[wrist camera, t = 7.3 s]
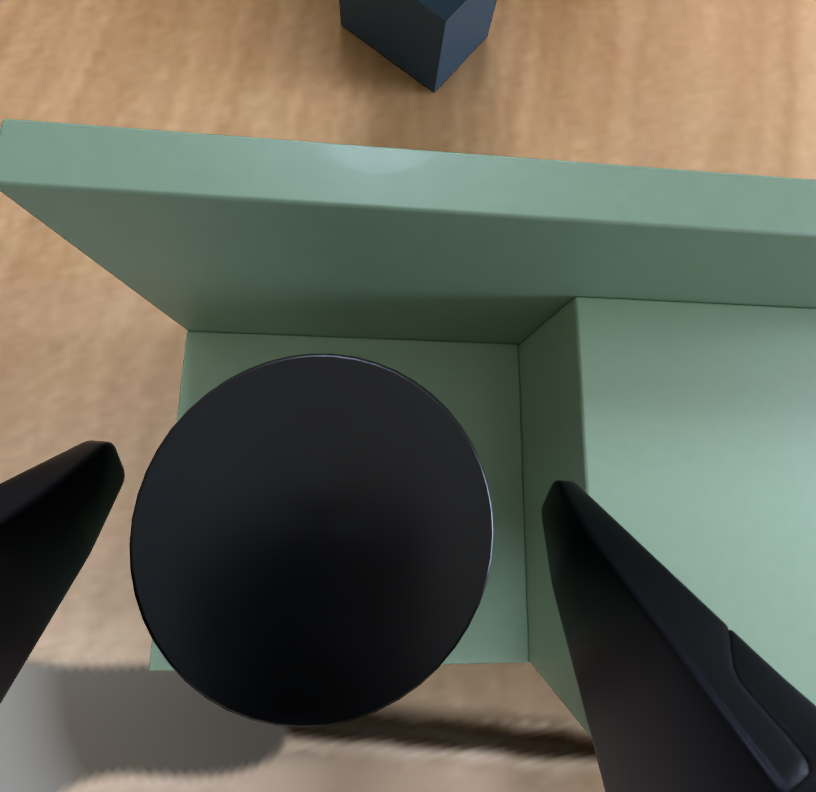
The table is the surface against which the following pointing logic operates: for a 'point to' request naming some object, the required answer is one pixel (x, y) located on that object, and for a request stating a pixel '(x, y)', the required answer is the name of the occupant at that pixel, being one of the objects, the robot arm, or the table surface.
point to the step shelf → (502, 336)
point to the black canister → (311, 540)
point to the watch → (421, 32)
